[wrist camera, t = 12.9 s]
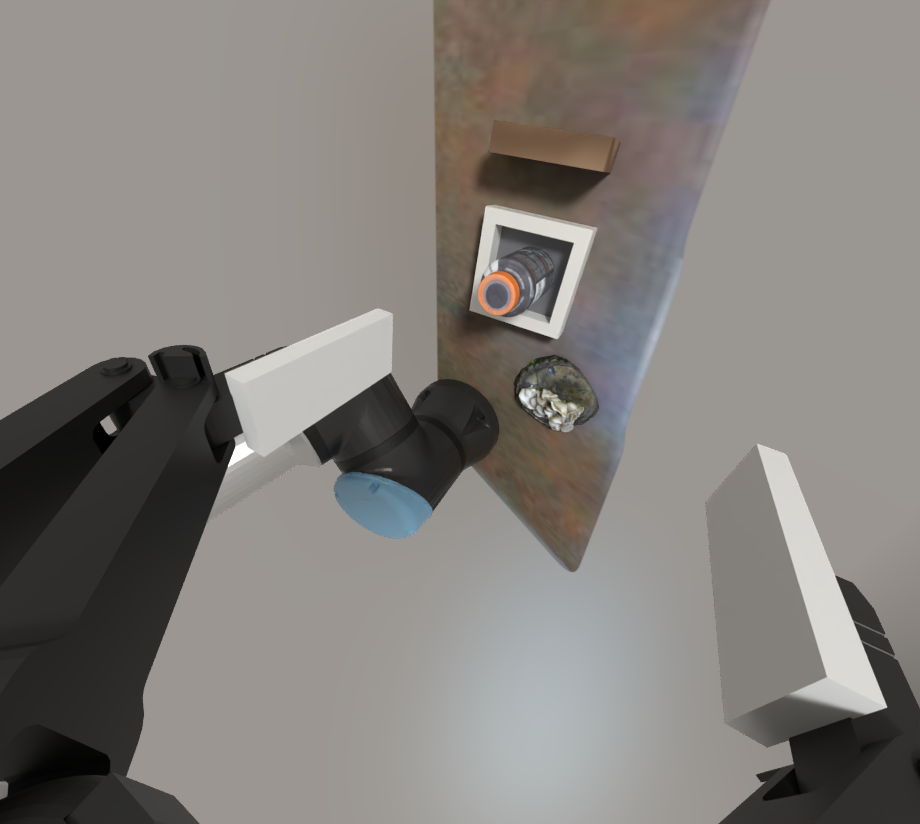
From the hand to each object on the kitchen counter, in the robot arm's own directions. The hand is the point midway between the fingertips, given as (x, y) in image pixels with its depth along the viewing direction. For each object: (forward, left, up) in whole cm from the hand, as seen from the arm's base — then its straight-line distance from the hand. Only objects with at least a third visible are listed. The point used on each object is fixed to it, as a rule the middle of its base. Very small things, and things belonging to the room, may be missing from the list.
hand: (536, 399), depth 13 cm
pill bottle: (-4, +10, -33) cm, 34 cm away
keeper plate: (-4, +10, -33) cm, 34 cm away
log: (-18, +2, -33) cm, 38 cm away
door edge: (+8, +10, -33) cm, 35 cm away
